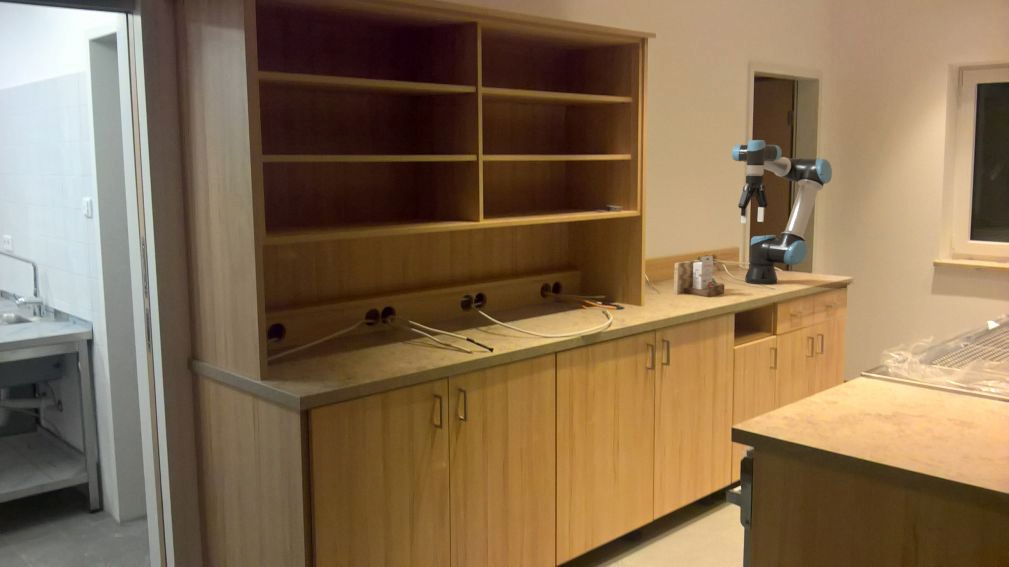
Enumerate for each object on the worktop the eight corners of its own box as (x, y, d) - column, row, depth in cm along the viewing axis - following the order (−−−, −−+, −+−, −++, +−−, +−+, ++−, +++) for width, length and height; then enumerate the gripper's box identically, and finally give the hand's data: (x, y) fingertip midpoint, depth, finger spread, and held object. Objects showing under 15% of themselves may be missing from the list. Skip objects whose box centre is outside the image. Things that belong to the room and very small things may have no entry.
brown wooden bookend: (702, 289, 394) (703, 259, 391) (730, 293, 383) (731, 262, 380) (673, 293, 379) (674, 262, 377) (701, 298, 368) (702, 266, 366)
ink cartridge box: (703, 286, 385) (704, 254, 383) (712, 287, 381) (714, 255, 379) (691, 288, 379) (693, 255, 377) (701, 289, 376) (702, 256, 373)
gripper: (762, 174, 390) (759, 220, 393) (731, 175, 373) (729, 223, 377) (777, 174, 384) (774, 221, 387) (746, 175, 368) (744, 224, 371)
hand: (752, 222), depth 382 cm, fingers open, 13 cm apart
